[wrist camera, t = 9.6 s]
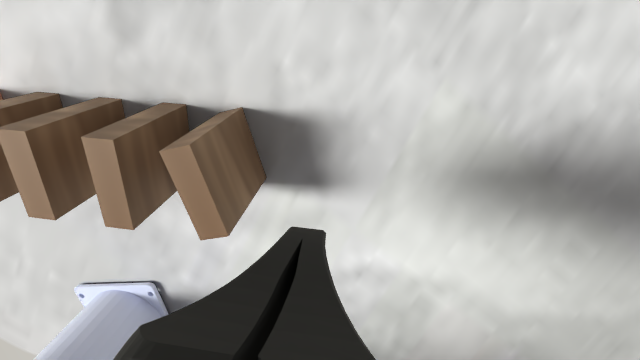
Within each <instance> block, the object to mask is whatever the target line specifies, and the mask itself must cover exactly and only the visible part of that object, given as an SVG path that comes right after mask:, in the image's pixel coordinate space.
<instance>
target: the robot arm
mask: <svg viewBox="0 0 640 360" xmlns="http://www.w3.org/2000/svg"><path fill="white" fill-rule="evenodd" d="M325 239H326V233H325V232H324V231H323V230H316V229H308V228H300V227H291V228H289V229H288V230H287V232H286V233H285V234H284V235H283V236H282V237H281V238H280V239H279V240H278V241H277V242H276V243H275V244H274V245H273V246H272V247H271V248H270V249H269V250H268V251H267V252H266V253H265V254H264V255H263V256H262V257H261V258H260V259H258V260H257V261H256V262H255V263H254V264H253V265H251V266H250V267H249V268H248V269H247V270H245V271H244V272H243V273H242V274H240V275H239V276H238V277H236V278H235V279H233V280H232V281H231V282H229V283H228V284H226V285H225V286H223V287H221V288H220V289H218V290H216V291H215V292H213V293H211V294H210V295H208V296H206V297H204V298H203V299H201V300H199V301H197V302H195V303H193V304H191V305H189V306H187V307H184V308H182V309H180V310H178V311H176V312H173V313H171V314H168V312H167V309H166V307H165V305H164V303H163V301H162V299H161V296H160V294H159V292H158V290H157V288H156V286H155V285H154V284H153V283H150V282H145V283H113V284H82V285H78V286H76V287H75V288H74V291H75V293H76V294H77V296H78V298H79V299H80V301H81V303H82V305H83V306H84V308H83V309H82V310H81V311H80V312H79V313H78V314H77V315H76V316H75V318H74V319H73V320H72V321H71V322H70V323H69V324H68V325H67V326H66V327H65V328H64V329H63V330H62V331H61V332H60V333H59V334H58V335H57V336H56V337H55V338H54V339H53V340H52V341H51V342H50V343H49V344H48V345H47V346H46V347H45V348H44V349H43V350H42V351H41V352H40V353H39V354H38V355H37V356H36V357H35V358H34V359H33V360H376V359H375V358H374V357H373V355H372V354H371V353H370V351H369V350H368V348H367V347H366V346H365V344H364V343H363V341H362V340H361V338H360V336H359V335H358V333H357V332H356V330H355V328H354V326H353V325H352V323H351V321H350V319H349V317H348V316H347V314H346V312H345V310H344V308H343V305H342V303H341V301H340V299H339V296H338V294H337V291H336V289H335V286H334V283H333V280H332V277H331V274H330V270H329V266H328V261H327V257H326V250H325Z"/></svg>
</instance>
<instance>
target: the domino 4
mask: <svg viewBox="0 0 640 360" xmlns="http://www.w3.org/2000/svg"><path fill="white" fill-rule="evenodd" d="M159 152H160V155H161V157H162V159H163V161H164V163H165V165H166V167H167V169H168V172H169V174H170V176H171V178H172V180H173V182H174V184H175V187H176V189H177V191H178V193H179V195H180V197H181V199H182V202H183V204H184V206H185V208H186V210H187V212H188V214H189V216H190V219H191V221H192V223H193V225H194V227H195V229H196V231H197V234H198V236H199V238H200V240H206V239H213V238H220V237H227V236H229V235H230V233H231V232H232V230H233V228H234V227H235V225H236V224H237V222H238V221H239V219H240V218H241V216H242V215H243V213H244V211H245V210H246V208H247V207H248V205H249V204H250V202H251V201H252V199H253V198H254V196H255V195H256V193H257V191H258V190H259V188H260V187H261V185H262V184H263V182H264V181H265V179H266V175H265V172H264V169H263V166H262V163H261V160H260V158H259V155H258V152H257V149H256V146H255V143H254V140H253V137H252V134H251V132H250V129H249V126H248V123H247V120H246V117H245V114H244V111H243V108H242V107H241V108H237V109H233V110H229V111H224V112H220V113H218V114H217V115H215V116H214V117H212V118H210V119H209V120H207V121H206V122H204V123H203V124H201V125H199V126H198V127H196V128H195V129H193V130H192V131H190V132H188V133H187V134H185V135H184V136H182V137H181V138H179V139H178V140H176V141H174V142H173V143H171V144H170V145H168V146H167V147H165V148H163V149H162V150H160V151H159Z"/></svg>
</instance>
